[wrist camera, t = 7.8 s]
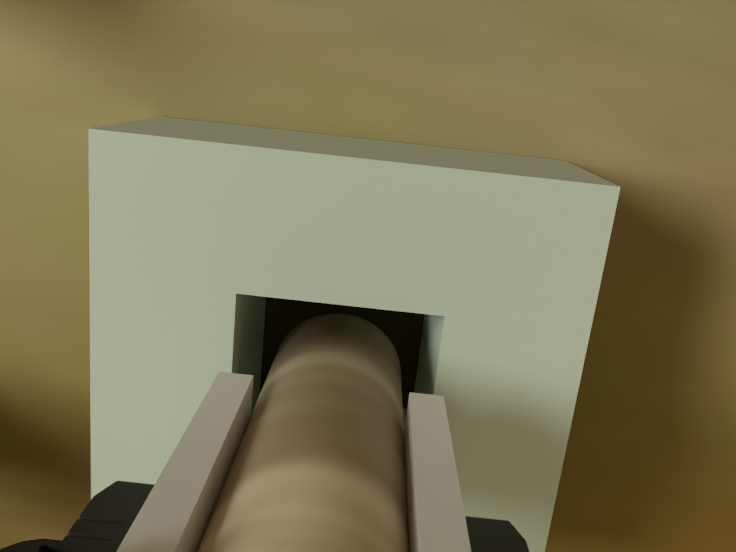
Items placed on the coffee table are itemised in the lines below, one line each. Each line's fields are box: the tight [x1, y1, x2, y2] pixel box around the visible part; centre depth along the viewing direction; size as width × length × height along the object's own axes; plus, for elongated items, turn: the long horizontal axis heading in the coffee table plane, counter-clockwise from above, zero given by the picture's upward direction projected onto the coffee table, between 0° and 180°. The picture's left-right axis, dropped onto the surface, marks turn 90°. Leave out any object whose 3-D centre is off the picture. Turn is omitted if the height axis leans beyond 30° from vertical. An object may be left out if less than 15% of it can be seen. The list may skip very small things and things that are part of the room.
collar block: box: [89, 116, 621, 552], centre depth 20 cm, size 12×12×5 cm
